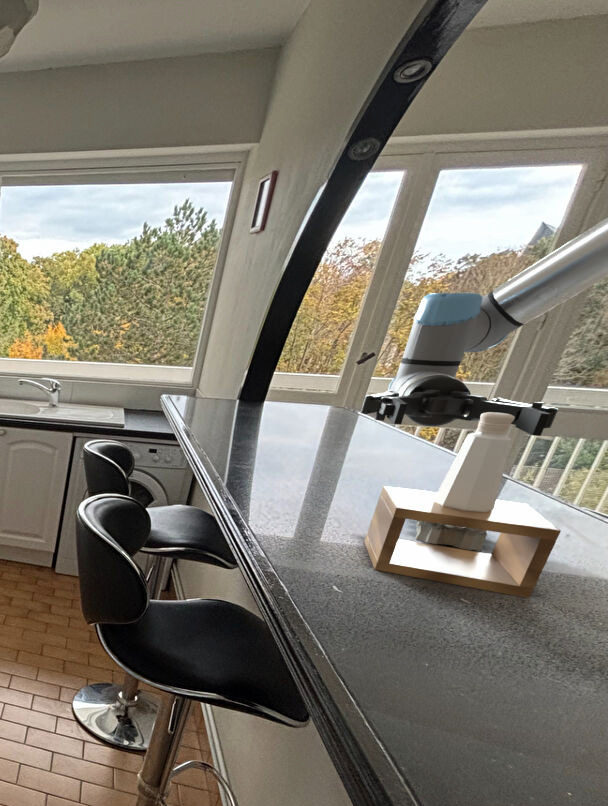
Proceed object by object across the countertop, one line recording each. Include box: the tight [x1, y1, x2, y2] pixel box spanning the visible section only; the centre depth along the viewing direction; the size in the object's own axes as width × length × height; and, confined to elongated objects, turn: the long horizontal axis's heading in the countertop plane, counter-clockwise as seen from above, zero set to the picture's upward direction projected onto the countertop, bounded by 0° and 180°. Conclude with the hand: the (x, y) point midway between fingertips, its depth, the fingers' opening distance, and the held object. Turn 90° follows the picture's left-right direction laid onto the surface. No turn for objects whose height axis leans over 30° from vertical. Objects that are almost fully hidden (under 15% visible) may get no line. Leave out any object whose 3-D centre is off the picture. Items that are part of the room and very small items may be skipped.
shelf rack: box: [364, 485, 562, 599], centre depth 73 cm, size 14×11×8 cm
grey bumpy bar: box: [415, 520, 488, 552], centre depth 83 cm, size 11×8×4 cm
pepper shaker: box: [434, 412, 515, 513], centre depth 69 cm, size 5×5×11 cm
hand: (468, 419), depth 76 cm, fingers open, 13 cm apart
